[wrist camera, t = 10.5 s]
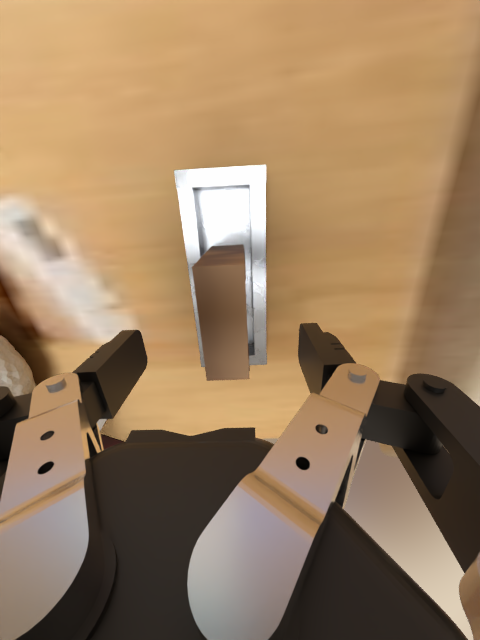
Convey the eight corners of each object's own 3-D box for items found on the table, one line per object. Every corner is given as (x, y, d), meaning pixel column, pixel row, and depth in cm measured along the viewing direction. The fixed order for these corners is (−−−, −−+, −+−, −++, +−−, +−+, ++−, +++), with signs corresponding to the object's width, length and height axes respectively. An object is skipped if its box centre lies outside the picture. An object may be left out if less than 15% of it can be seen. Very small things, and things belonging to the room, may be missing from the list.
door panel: (243, 244, 22) (245, 264, 13) (246, 320, 26) (249, 378, 16) (211, 246, 22) (191, 266, 13) (218, 322, 26) (206, 380, 17)
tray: (262, 172, 21) (266, 164, 18) (263, 347, 28) (266, 364, 25) (184, 177, 21) (173, 170, 18) (205, 349, 28) (201, 367, 25)
